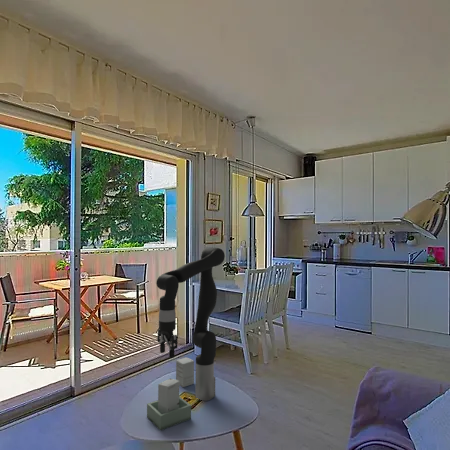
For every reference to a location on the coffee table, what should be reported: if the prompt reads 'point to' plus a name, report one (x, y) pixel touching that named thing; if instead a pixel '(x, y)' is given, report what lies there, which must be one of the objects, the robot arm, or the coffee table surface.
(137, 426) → the coffee table surface
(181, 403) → the box
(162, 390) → the skincare box
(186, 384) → the supplement box
